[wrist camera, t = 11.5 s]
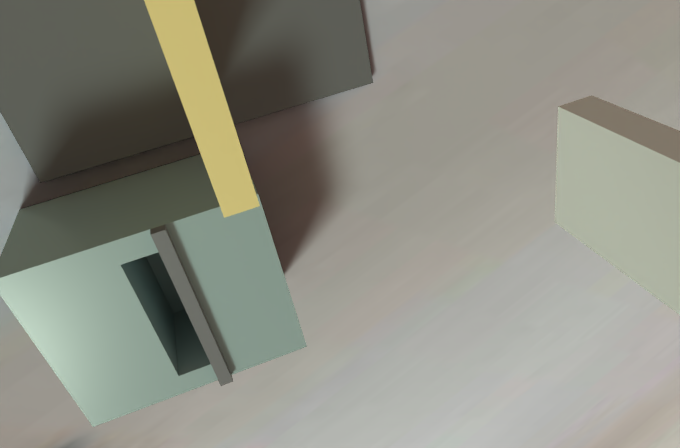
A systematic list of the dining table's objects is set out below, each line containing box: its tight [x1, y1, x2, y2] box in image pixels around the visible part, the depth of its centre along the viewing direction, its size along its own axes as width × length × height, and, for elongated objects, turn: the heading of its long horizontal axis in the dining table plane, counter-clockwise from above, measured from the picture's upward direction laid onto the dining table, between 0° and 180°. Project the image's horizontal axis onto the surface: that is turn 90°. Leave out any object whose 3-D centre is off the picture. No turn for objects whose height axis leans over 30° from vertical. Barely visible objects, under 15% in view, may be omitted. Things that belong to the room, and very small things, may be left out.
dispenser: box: [0, 154, 307, 427], centre depth 35 cm, size 14×12×9 cm
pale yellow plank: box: [144, 0, 260, 218], centre depth 25 cm, size 1×8×16 cm, turn 11°
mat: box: [0, 0, 373, 183], centre depth 32 cm, size 22×13×1 cm, turn 101°
